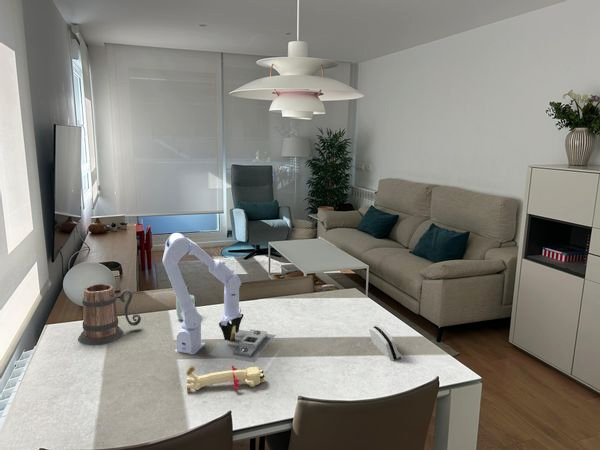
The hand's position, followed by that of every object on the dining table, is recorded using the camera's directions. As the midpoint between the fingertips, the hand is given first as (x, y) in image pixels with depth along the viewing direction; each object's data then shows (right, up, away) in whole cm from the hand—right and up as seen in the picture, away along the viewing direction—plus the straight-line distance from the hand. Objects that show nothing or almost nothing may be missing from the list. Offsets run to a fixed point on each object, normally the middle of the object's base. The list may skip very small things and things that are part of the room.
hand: (231, 335), depth 176 cm
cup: (-23, +2, +21) cm, 31 cm away
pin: (0, -2, 0) cm, 2 cm away
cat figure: (+3, -9, -31) cm, 33 cm away
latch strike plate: (+8, -3, -4) cm, 9 cm away
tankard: (-49, 0, +3) cm, 49 cm away
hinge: (+59, -5, -3) cm, 59 cm away
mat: (+5, -3, -3) cm, 7 cm away
